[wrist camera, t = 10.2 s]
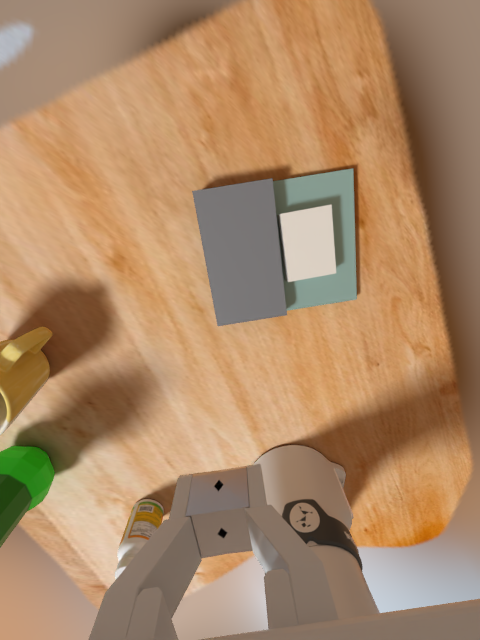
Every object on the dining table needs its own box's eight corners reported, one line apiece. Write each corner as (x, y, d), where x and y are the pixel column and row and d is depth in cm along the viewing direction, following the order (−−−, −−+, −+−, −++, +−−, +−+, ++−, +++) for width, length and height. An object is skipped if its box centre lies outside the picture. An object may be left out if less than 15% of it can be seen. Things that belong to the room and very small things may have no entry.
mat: (353, 297, 38) (356, 299, 37) (282, 309, 38) (283, 310, 37) (349, 170, 33) (353, 168, 32) (268, 183, 33) (269, 181, 32)
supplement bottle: (146, 525, 48) (127, 594, 39) (126, 507, 47) (101, 574, 37) (170, 511, 48) (156, 578, 38) (150, 492, 46) (131, 557, 37)
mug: (26, 405, 40) (-40, 460, 30) (-28, 352, 37) (-121, 393, 27) (99, 358, 39) (54, 401, 29) (47, 299, 36) (-22, 323, 26)
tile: (330, 271, 35) (336, 273, 34) (285, 279, 35) (288, 282, 34) (325, 206, 33) (331, 204, 31) (277, 215, 33) (280, 213, 31)
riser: (282, 309, 38) (287, 315, 35) (218, 319, 38) (217, 326, 35) (268, 183, 33) (272, 178, 30) (195, 195, 33) (192, 191, 30)
